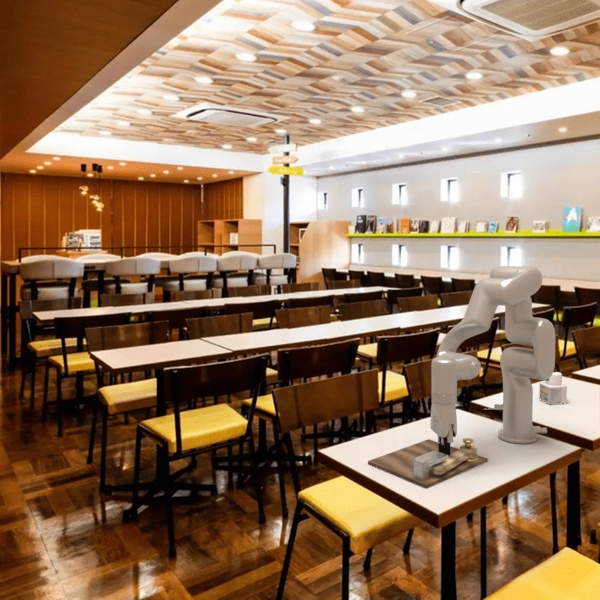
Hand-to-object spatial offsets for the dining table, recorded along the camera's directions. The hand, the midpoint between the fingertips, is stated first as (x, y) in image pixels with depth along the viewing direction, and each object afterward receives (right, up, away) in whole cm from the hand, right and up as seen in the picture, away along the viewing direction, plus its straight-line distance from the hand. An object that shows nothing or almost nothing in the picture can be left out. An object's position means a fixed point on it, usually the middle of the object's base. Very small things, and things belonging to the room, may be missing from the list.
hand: (444, 455), depth 171 cm
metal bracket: (+38, +3, +48) cm, 61 cm away
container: (+61, +5, +61) cm, 87 cm away
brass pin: (+8, -2, +2) cm, 8 cm away
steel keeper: (-7, -3, -9) cm, 12 cm away
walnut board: (-5, -3, +1) cm, 6 cm away
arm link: (+2, -1, -4) cm, 5 cm away
